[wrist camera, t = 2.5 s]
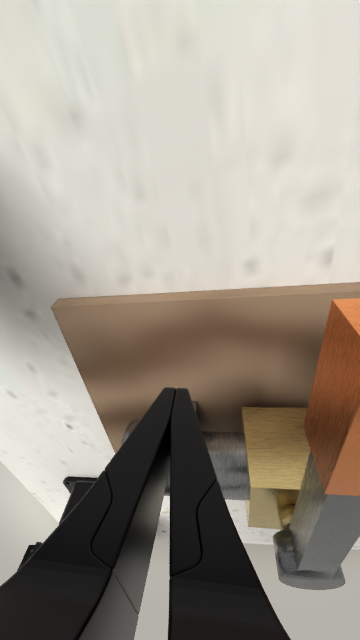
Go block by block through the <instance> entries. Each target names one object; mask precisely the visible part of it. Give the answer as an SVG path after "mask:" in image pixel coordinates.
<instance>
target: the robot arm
mask: <svg viewBox="0 0 360 640" xmlns="http://www.w3.org/2000/svg"><path fill="white" fill-rule="evenodd" d="M169 468H170V580H169V625H168V626H169V627H168V640H291V639H290V638H289V636H288V635H287V633H286V631H285V630H284V628H283V626H282V624H281V623H280V621H279V619H278V617H277V615H276V613H275V611H274V610H273V608H272V605H271V604H270V602H269V599H268V597H267V595H266V594H265V592H264V589H263V587H262V585H261V583H260V580H259V579H258V576H257V574H256V572H255V570H254V567H253V565H252V563H251V561H250V559H249V556H248V555H247V552H246V550H245V548H244V546H243V543H242V541H241V539H240V537H239V535H238V532H237V530H236V527H235V525H234V523H233V520H232V518H231V516H230V513H229V510H228V508H227V505H226V502H225V499H224V497H223V494H222V491H221V488H220V485H219V482H218V481H217V476H216V473H215V470H214V467H213V464H212V461H211V458H210V455H209V452H208V449H207V445H206V442H205V439H204V436H203V433H202V430H201V427H200V424H199V421H198V418H197V415H196V412H195V409H194V406H193V403H192V400H191V397H190V394H189V391H188V389H187V388H177V389H176V388H173V387H165V388H164V389H163V390H162V391H161V393H160V394H159V395H158V397H157V398H156V399H155V401H154V402H153V403H152V405H151V406H150V408H149V409H148V410H147V412H146V413H145V414H144V416H143V417H142V418H141V420H140V421H139V423H138V424H137V425H136V427H135V428H134V429H133V431H132V432H131V434H130V435H129V436H128V438H127V439H126V440H125V442H124V443H123V444H122V446H121V447H120V449H119V450H118V451H117V453H116V454H115V455H114V457H113V458H112V459H111V461H110V462H109V464H108V465H107V466H106V468H105V471H103V472H102V473H101V474H100V476H99V477H98V478H97V479H86V478H65V479H64V481H63V483H64V485H65V486H66V488H67V489H68V490H69V492H70V493H71V495H70V497H69V500H68V502H67V505H66V507H65V510H64V512H63V515H62V517H61V520H60V522H59V526H58V527H57V528H56V529H55V530H54V531H53V533H52V534H51V535H50V536H49V537H48V538H47V539H46V540H45V542H44V543H43V544H42V543H41V542H37V543H36V545H29V546H28V549H27V551H26V553H25V555H24V557H23V560H22V562H21V564H20V566H19V568H18V570H17V572H16V573H15V574H14V575H13V576H12V577H10V578H9V579H8V580H7V581H6V582H5V583H3V584H2V585H1V586H0V640H134V636H135V631H136V626H137V621H138V614H139V611H140V606H141V602H142V597H143V592H144V587H145V583H146V577H147V572H148V568H149V564H150V558H151V554H152V549H153V544H154V540H155V535H156V530H157V525H158V521H159V516H160V511H161V506H162V501H163V497H164V492H165V487H166V482H167V478H168V473H169Z"/></svg>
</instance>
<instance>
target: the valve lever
mask: <svg viewBox="0 0 360 640" xmlns="http://www.w3.org/2000/svg"><path fill="white" fill-rule="evenodd" d="M303 428H304V431H305V434H306V437H307V440H308V443H309V446H310V449H311V450H310V454H309V457H308V461H307V465H306V468H305V472H304V476H303V479H302V483H301V487H300V490H299V494H298V498H297V501H296V505H295V509H294V512H293V516H292V520H291V523H290V527H289V529H286V530H282V531H280V532H277V533H276V534H275V535H274V536H273V543H274V549H275V556H276V563H277V569H278V576H279V580H280V581H281V582H282V583H284V584H286V585H289V586H292V587H296V588H302V589H312V590H326V589H334V588H338V587H341V586H343V585H344V584H345V578H344V575H343V572H342V569H341V563H342V561H343V560H344V559H345V557H346V555H347V554H348V552H349V551H350V549H351V548H352V546H353V545H354V543H355V542H356V540H357V539H358V537H359V536H360V298H351V299H332V302H331V306H330V311H329V315H328V320H327V324H326V328H325V333H324V337H323V342H322V346H321V350H320V355H319V359H318V364H317V368H316V372H315V377H314V381H313V386H312V390H311V394H310V399H309V403H308V408H307V412H306V416H305V421H304V425H303Z"/></svg>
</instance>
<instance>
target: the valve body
mask: <svg viewBox="0 0 360 640" xmlns="http://www.w3.org/2000/svg"><path fill="white" fill-rule="evenodd" d="M192 403H193V406H194V409H195V412H196V415H197V418H198V421H199V417H198V409H197V401H192ZM306 412H307V408H288V407H242V420H241V432H215V431H202V433H203V436H204V439H205V442H206V445H207V449H208V452H209V455H210V458H211V461H212V464H213V467H214V470H215V473H216V476H217V481H218V482H219V485H220V488H221V491H222V494H223V497H224V499H231V500H246V509H247V520H248V527H259V528H273V529H281V531H282V530H286V529H289V527H290V523H291V520H292V516H293V512H294V509H295V505H296V501H297V498H298V494H299V490H300V487H301V483H302V479H303V476H304V472H305V468H306V465H307V461H308V457H309V454H310V450H311V449H310V446H309V443H308V440H307V437H306V434H305V431H304V428H303V425H304V421H305V416H306ZM139 421H140V420H132V421H131V422H130V423H129V424H128V426H127V428H126V430H125V433H124V435H123V439H122V442H121V446H122V444H123V443H124V442H125V440H126V439H127V438H128V436H129V435H130V434H131V432H132V431H133V429H134V428H135V427H136V425H137V424H138V423H139ZM164 496H170V468H169V473H168V478H167V482H166V487H165V492H164Z"/></svg>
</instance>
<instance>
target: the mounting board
mask: <svg viewBox="0 0 360 640" xmlns="http://www.w3.org/2000/svg"><path fill="white" fill-rule="evenodd" d="M351 298H360V282H357V283H339V284H321V285H303V286H285V287H267V288H248V289H230V290H212V291H194V292H176V293H158V294H140V295H122V296H104V297H85V298H67V299H58V300H57V301H56V302H55V303H54V304H53V305H52V306H51V309H52V311H53V313H54V316H55V318H56V320H57V322H58V325H59V327H60V329H61V331H62V334H63V336H64V338H65V340H66V343H67V345H68V347H69V350H70V352H71V354H72V356H73V359H74V361H75V363H76V365H77V368H78V370H79V372H80V374H81V377H82V379H83V381H84V384H85V386H86V388H87V390H88V393H89V395H90V397H91V399H92V402H93V404H94V406H95V408H96V411H97V413H98V415H99V417H100V420H101V422H102V424H103V427H104V429H105V431H106V433H107V436H108V438H109V440H110V442H111V445H112V447H113V449H114V451H115V454H116V453H117V451H118V450H119V449H120V447H121V442H122V439H123V435H124V433H125V430H126V428H127V426H128V424H129V423H130V422H131V421H132V420H141V418H142V417H143V416H144V414H145V413H146V412H147V410H148V409H149V408H150V406H151V405H152V403H153V402H154V401H155V399H156V398H157V397H158V395H159V394H160V393H161V391H162V390H163V389H164V388H165V387H173V388H176V389H177V388H187V389H188V391H189V394H190V397H191V400H192V401H197V409H198V417H199V424H200V427H201V430H202V431H215V432H241V420H242V407H288V408H308V403H309V399H310V394H311V390H312V386H313V381H314V377H315V372H316V368H317V364H318V359H319V355H320V350H321V346H322V342H323V337H324V333H325V328H326V324H327V320H328V315H329V311H330V306H331V302H332V299H351Z"/></svg>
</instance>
